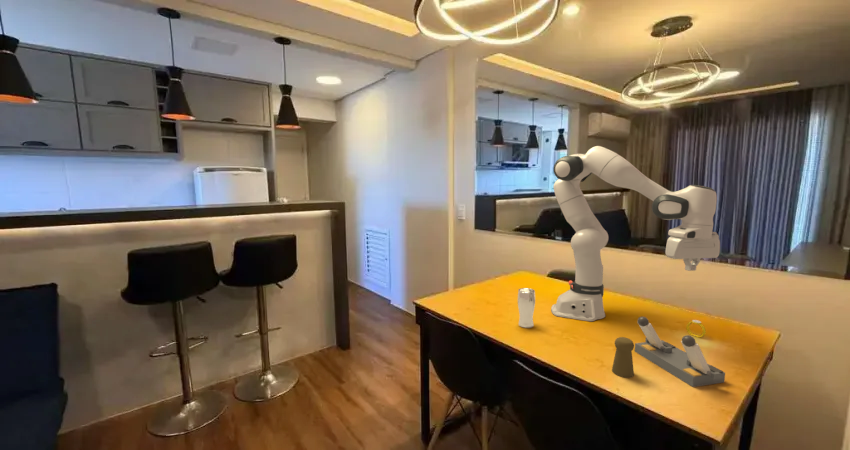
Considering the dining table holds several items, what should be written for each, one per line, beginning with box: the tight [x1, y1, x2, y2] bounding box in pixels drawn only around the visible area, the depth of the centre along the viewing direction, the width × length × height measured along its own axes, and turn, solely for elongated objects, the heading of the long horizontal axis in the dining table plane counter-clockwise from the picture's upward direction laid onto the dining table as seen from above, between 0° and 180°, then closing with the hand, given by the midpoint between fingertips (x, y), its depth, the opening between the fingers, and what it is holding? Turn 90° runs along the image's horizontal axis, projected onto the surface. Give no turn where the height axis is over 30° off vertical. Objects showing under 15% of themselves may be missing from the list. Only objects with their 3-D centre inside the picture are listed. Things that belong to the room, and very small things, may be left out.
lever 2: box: [680, 334, 712, 376], centre depth 103 cm, size 3×6×13 cm
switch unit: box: [634, 337, 726, 388], centre depth 112 cm, size 11×24×5 cm, turn 10°
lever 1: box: [637, 316, 664, 351], centre depth 119 cm, size 3×6×13 cm
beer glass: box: [517, 287, 536, 329], centre depth 147 cm, size 7×7×15 cm
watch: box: [686, 319, 707, 339], centre depth 134 cm, size 6×3×6 cm, turn 23°
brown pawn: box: [611, 336, 635, 379], centre depth 110 cm, size 6×6×11 cm
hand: (690, 270), depth 126 cm, fingers closed
